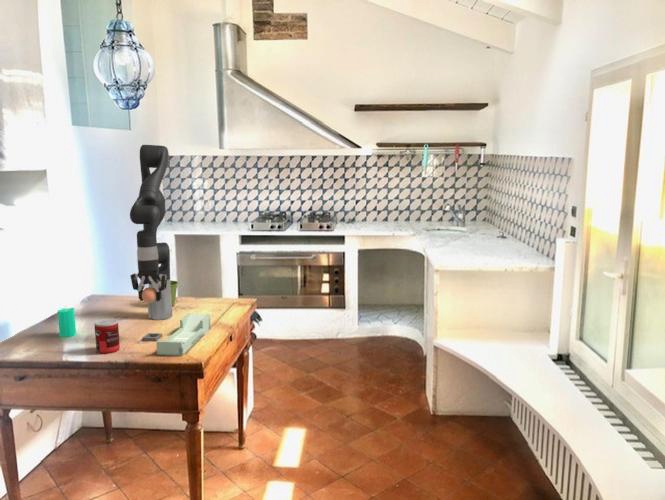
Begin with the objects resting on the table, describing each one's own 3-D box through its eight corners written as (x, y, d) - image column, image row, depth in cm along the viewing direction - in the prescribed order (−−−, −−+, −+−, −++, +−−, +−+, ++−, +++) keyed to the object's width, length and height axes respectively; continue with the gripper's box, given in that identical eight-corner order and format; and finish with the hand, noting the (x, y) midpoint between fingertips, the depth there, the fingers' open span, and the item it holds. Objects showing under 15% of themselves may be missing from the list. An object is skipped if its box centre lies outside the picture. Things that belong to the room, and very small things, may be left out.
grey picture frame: (142, 340, 202) (142, 337, 202) (148, 336, 208) (148, 333, 208) (156, 341, 202) (156, 338, 202) (162, 336, 207) (162, 333, 207)
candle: (79, 333, 211) (77, 304, 209) (67, 338, 206) (65, 308, 204) (68, 332, 213) (65, 303, 211) (56, 336, 208) (53, 307, 206)
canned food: (100, 347, 196) (98, 318, 194) (122, 346, 196) (120, 318, 194) (93, 354, 188) (90, 325, 186) (116, 353, 189) (114, 324, 187)
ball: (139, 304, 200) (138, 289, 199) (146, 300, 206) (145, 285, 205) (154, 304, 199) (153, 289, 198) (161, 300, 205) (160, 285, 204)
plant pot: (162, 310, 243) (160, 287, 241) (149, 306, 251) (148, 283, 249) (184, 305, 252) (183, 282, 250) (171, 301, 260) (170, 279, 258)
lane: (157, 355, 187) (156, 338, 186) (189, 327, 218) (188, 313, 217) (182, 356, 186) (181, 339, 185) (211, 328, 217) (210, 313, 216)
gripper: (124, 259, 197) (127, 302, 200) (161, 260, 195) (164, 303, 198) (134, 255, 204) (137, 297, 207) (170, 256, 203) (172, 298, 206)
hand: (150, 300), depth 203 cm, fingers closed on ball, 6 cm apart
